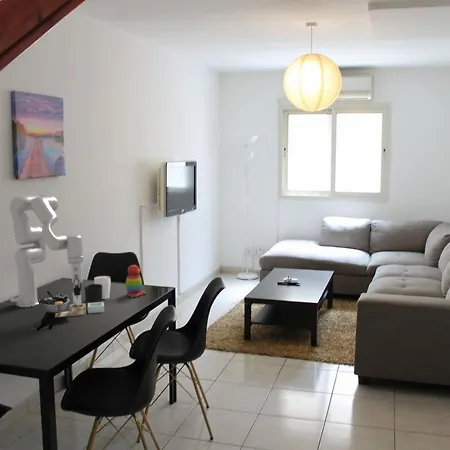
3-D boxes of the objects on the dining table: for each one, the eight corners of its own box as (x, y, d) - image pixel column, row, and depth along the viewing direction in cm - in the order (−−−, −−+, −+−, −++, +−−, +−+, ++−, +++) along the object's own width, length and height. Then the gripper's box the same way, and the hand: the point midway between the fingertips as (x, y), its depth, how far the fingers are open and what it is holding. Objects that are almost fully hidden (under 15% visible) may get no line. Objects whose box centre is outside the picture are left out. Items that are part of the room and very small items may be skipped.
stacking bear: (136, 298, 315) (135, 267, 313) (122, 296, 319) (120, 266, 317) (147, 294, 324) (146, 264, 322) (133, 292, 329) (131, 262, 327)
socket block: (54, 318, 276) (54, 306, 275) (56, 313, 285) (55, 302, 284) (86, 316, 279) (85, 304, 279) (86, 311, 288) (85, 300, 287)
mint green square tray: (88, 314, 282) (87, 306, 282) (88, 310, 290) (87, 303, 289) (104, 313, 284) (103, 305, 283) (103, 309, 292) (103, 302, 291)
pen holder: (83, 303, 306) (82, 285, 305) (100, 300, 310) (99, 283, 309) (87, 306, 298) (86, 288, 297) (104, 304, 302) (104, 286, 301)
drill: (73, 314, 280) (72, 290, 279) (74, 312, 284) (72, 289, 283) (81, 313, 281) (80, 290, 280) (82, 311, 285) (80, 288, 284)
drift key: (54, 312, 278) (54, 303, 278) (55, 310, 282) (55, 301, 281) (63, 311, 279) (62, 303, 279) (63, 309, 283) (63, 301, 282)
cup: (112, 299, 313) (111, 278, 312) (96, 301, 310) (95, 279, 309) (109, 295, 322) (108, 275, 320) (93, 297, 318) (92, 276, 317)
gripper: (82, 261, 272) (85, 296, 274) (83, 256, 289) (85, 289, 290) (67, 263, 270) (69, 297, 272) (68, 258, 287) (70, 290, 289)
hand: (77, 293), depth 281 cm, fingers open, 9 cm apart
